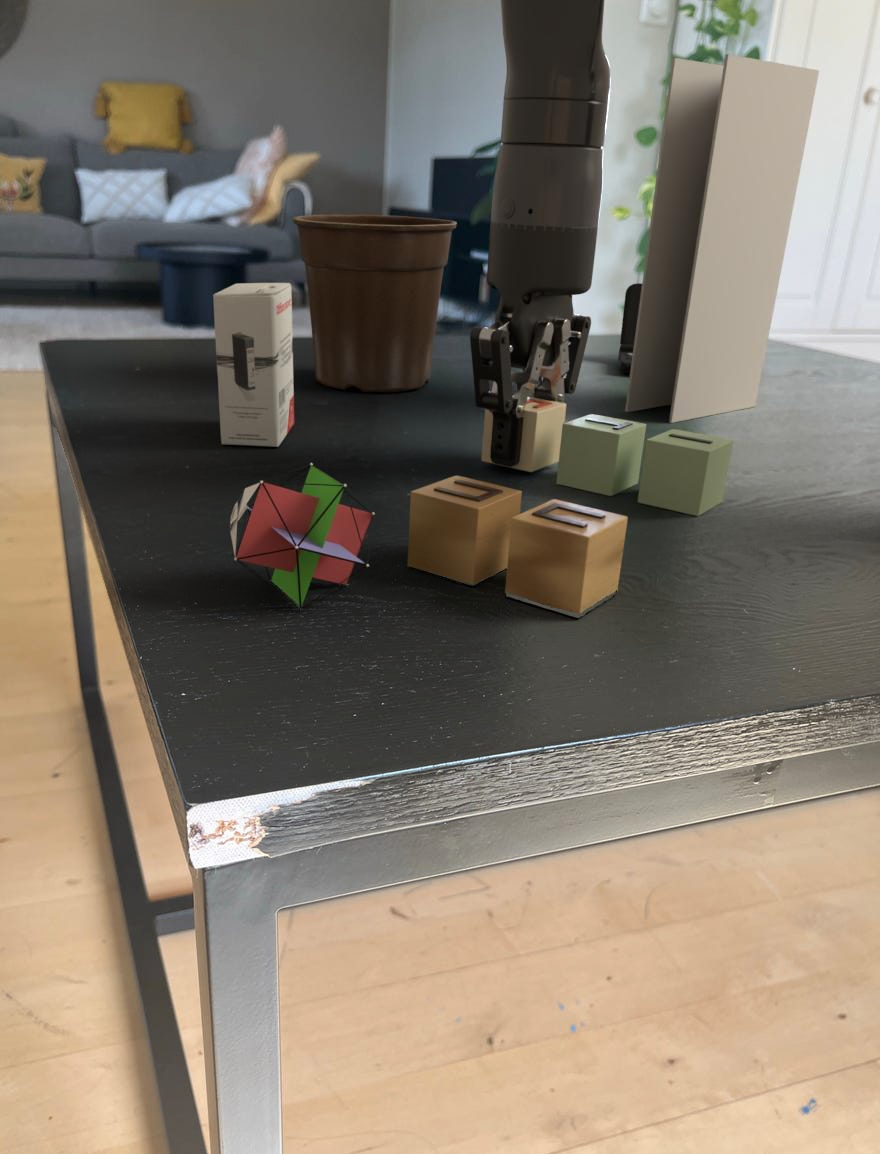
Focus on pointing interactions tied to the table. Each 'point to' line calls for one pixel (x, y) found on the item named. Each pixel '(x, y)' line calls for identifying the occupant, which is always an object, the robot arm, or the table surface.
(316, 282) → the plant pot
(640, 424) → the green cube
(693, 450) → the letter i
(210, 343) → the table surface
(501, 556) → the tan cube
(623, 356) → the game console
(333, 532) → the geometric puzzle
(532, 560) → the letter u
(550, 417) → the cream letter block
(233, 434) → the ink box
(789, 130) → the brochure
